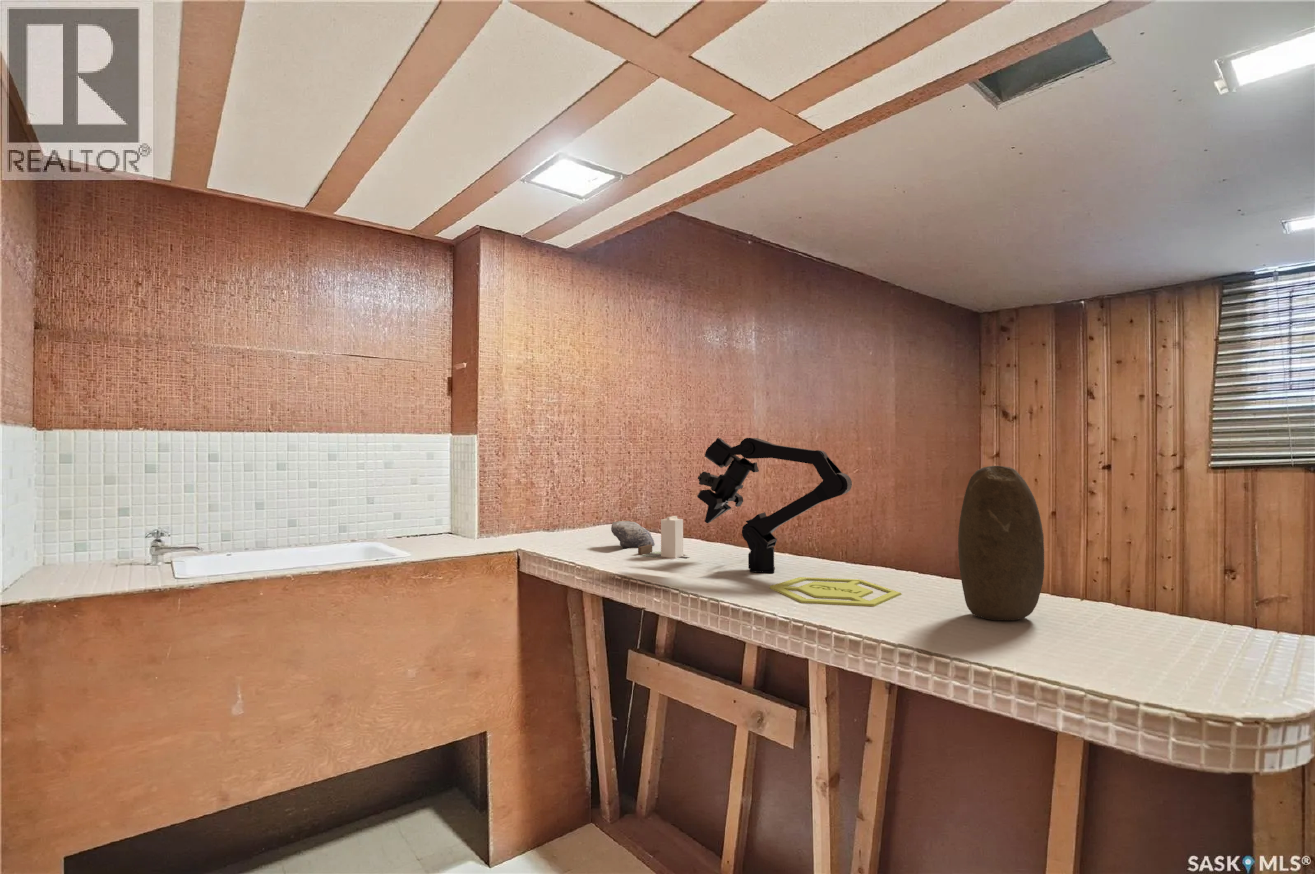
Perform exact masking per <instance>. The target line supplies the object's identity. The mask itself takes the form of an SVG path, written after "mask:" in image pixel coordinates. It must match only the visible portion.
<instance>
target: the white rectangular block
mask: <svg viewBox="0 0 1315 874" xmlns="http://www.w3.org/2000/svg"><path fill="white" fill-rule="evenodd" d="M660 552H661V556H660V557H667V558H668V557H670V558H676V559H679V558H678V557H681V556H683V554H684V519H683V518H678V515H670V516H667V517H666V518H661V519H660ZM683 557H684V556H683Z"/></svg>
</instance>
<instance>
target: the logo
mask: <svg viewBox="0 0 1315 874" xmlns="http://www.w3.org/2000/svg"><path fill="white" fill-rule="evenodd" d="M805 581H806V582H807V581H809V582H808V583H806V584H802V585H799V586H793V585H796V584H799V583H802V582H805ZM810 581H811V582H810ZM859 584H862V585H865V586H868V587H871V588H874V589H877V590H880V591H883V592H884V593H885V594H883V595H879V596H877V597H875V598H873V599H870V600H868V599H867V598H864V597H867V596H869V595H872V594H874V590H873V589H869V588H866V587H863V586H861V585H859ZM769 589H770V590H772V591H775V592H777V593H780V594H782V595H783V596H786V597H788V598H790V599H792V600H795V601H797V602H799V603H801V604H813V605H814V604H816V605H832V606H833V605H834V606H835V605H837V606H839V605H840V606H856V607H858V606H859V607H878V605H881V604H883V603H886V602H888V601H891V600H893V599H895V598H897V597H899V596H901V595H903V593H901V592H900V591H897V590H894V589H891V588H888V587H884V586H882V585H879V584H876V583H873V582H869V581H866V580H863V579H861V578H860V579H855V578H854V579H853V578H852V579H851V578H832V577H830V578H829V577H828V578H827V577H806V576H802V577H801V576H799V577H795V578H792V579H789V580H784V581H782V582H779V583H776V584H772V585H769ZM793 591H798V592H801V593H803V594H806V595H808V596H810V597H813V598H806V597H804V596H802V595H800V594H797V593H795V592H793Z"/></svg>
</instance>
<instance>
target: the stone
mask: <svg viewBox="0 0 1315 874" xmlns="http://www.w3.org/2000/svg"><path fill="white" fill-rule="evenodd" d="M1027 483H1028V482H1026V480H1025V479H1024V478H1023V477H1022V476H1021V475H1020V473H1019V472H1018V471H1017V470H1016V469H1015V468H1013V467H1010V466H1003V465H989V466H984V467H981V468H978V469H977V470H976V471H975V472H974V473H973V474H972V476H971V477H970V479H969V480H968V484H967V486H966V489H965V491H964V492H965V493H964V496H963V501H962V505H961V509H960V510H961V511H960V516H959V524H958V536H957V537H958V538H957V541H958V542H957V543H958V544H957V546H958V549H957V552H958V567H959V574H960V580H961V586H962V591H963V592H962V593H963V596H964V600H965V601H964V602H965V605H966V606H967V608H968V610H969V611H970V613H971V614H972V615H974V616H976V617H978V618H981V619H985V620H991V621H1016V620H1023V619H1025V618H1027V617H1028V616H1030V615H1031V614H1032V613H1033V612H1034V610H1035V609H1036V606H1037V605H1038V602H1039V599H1040V596H1041V591H1042V589H1043V588H1042V587H1043V583H1044V575H1045V543H1044V531H1043V530H1044V529H1043V525H1042V520H1041V515H1040V510H1039V507H1038V504H1037V502H1036V499H1035V497H1034V494H1033V491H1032V490H1031V488H1030V487H1029V485H1028V484H1027Z"/></svg>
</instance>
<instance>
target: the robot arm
mask: <svg viewBox="0 0 1315 874" xmlns="http://www.w3.org/2000/svg"><path fill="white" fill-rule="evenodd" d="M739 456H741V457H742V458H741V457H739ZM704 457H705V458H706V459H707V460H709V461H710V462H712V463H713V464H714V465H715V466H717V467H719V468H720V469H722V468H724V467H725V468H726V470H725V472H724V474H719V475H715V474H711V472H707V471H702V472H701V473H699V475H698V476H697V480H698V485H700V486H706V487H710V489H703V490H702V489H701V490H699V491H698V494H697V495H696V497H697V498H698V499H700V501H702V502H703V503H704V504H705V505H707V511H706V515H705V518H704V522H705V523H706V524H709V523H711V522H713V521H715V519H717V518H719V517H720V516H722V515H723V514H724V513H726V512H727V511H729V510H732V507H731V506H730V505H729V504H730V502H733V503H735V504H734V505H735V507H736V508H737V507H741V506H742V504H743V502H744V497H743V496H742V495H741V494H739V493H738V492H739V490H742V489H743V488H744V485H743V484H744V482H745V480H746V479H747V477H748V475H749V474H750V472H752V473H759V472H760V469H759V467H758V462H756V461H755V462H751V461H750V459H751V460H752V459H776V460H777V459H778V460H782V461H789V462H796V463H803V464H810V465H812V466H813V467H814V468H815V469H816V472H817V474H818V475H819V476H820V479H821V480H822V481H821V482H820V483H819V484H818V485H816V486H815V488H814V489H812V490H811V491H810V492H807V493H806V494H804V495H803V496H801V497H799V498H797V499H796V500H794V501H792V502H791V503H788V504H787V505H786V506H784V507H782V508H780V509H779V510H777V511H775V512H773V513H771V514H769V515H768V516H767V514H766V512H765V511H764V512H760V513H758V514H756V515H755V516H754V517H753V518H750V519H748V520H745V523H744V525H743V526H742V529H741V536H742V538H743V540H744V541H745V542H746V544H747V546H748V549H749V550H750V551H749V552H748V555H747V558H748V559H747V560H748V561H747V562H748V564H747V566H748V569H749V572H750V573H768V574H770V573H773V574H774V573H775V569H776V567H775V547H776V544H777V542H778V538H777V537H776V536H775V535H774V534H773V532H775V531H776V530H777V529H778V528H779V527H780V526H782V525H783V524H785V523H787V522H789V521H790V520H793V519H794V518H795V517H798V516H799V515H801V514H803V513H805V512H807V511H808V510H810V509H812V508H814V507H815V506H817V505H819V504H821V503H822V502H826V501H828V500H831V499H834V498H836V497H840V496H843V495H846V494H847V493H849V492H850V491H851V490H852V486H853V485H852V484H853V480H852V478H851V477H850V475H848V474H846V473H844V472H842V471H841V469H840V468H839V467H838V466H837V465H836V463H835V462H834V461H833V460H831V458H830V457H829V456H828V454H827V452H825V450H822V449H818V450H817V449H815V450H814V449H807V448H801V447H793V446H787V445H786V446H785V445H780V444H779V445H778V444H775V443H772V442H770V441H767V440H765V439H762V438H761V439H760V438H758V437H757V438H756V437H746V438H743V439H742V440H741V441H740V443H739V444H738V445H735V446H731V445H730V444H728V443H727V442H725V440H723V439H722V438H721V437H720V438H719V437H716V439H715V440H714V442H712V443H711V444H710V445H709V446H707V449H706V450H705V453H704ZM748 459H749V460H748Z"/></svg>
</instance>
